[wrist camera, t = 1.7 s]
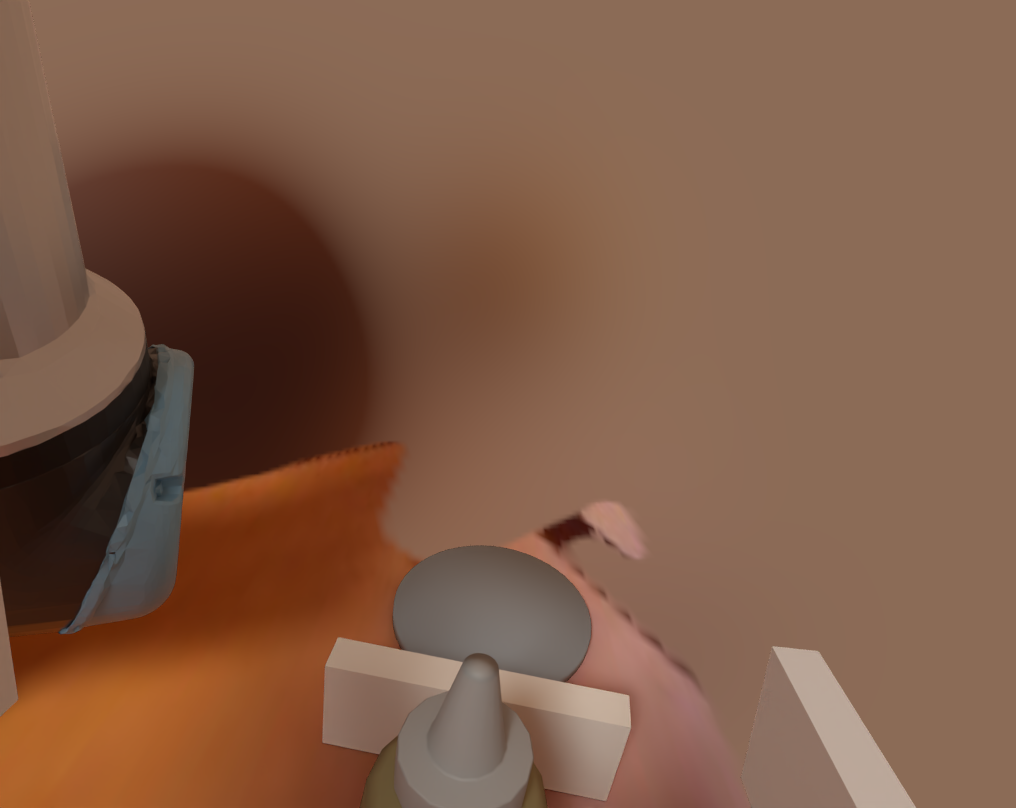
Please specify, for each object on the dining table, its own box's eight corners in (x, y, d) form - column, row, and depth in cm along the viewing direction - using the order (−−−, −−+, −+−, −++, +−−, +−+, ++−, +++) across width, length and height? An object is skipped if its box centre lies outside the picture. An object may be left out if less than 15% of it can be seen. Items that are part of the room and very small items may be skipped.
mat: (362, 580, 49) (363, 571, 49) (521, 537, 56) (523, 529, 56) (448, 734, 39) (450, 725, 38) (629, 657, 46) (632, 649, 46)
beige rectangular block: (322, 742, 37) (325, 665, 34) (334, 712, 39) (338, 637, 36) (606, 801, 36) (631, 727, 34) (605, 767, 38) (629, 695, 36)
